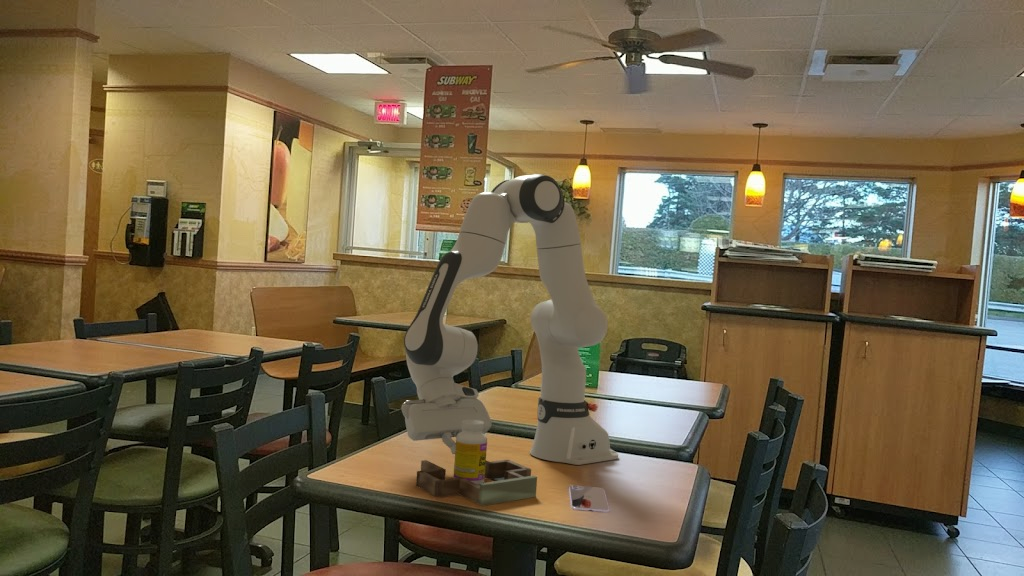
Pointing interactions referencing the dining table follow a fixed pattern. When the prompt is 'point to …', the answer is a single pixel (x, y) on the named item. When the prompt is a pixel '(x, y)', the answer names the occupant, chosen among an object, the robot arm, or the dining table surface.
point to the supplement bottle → (471, 452)
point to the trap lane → (506, 487)
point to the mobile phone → (588, 498)
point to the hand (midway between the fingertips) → (460, 452)
